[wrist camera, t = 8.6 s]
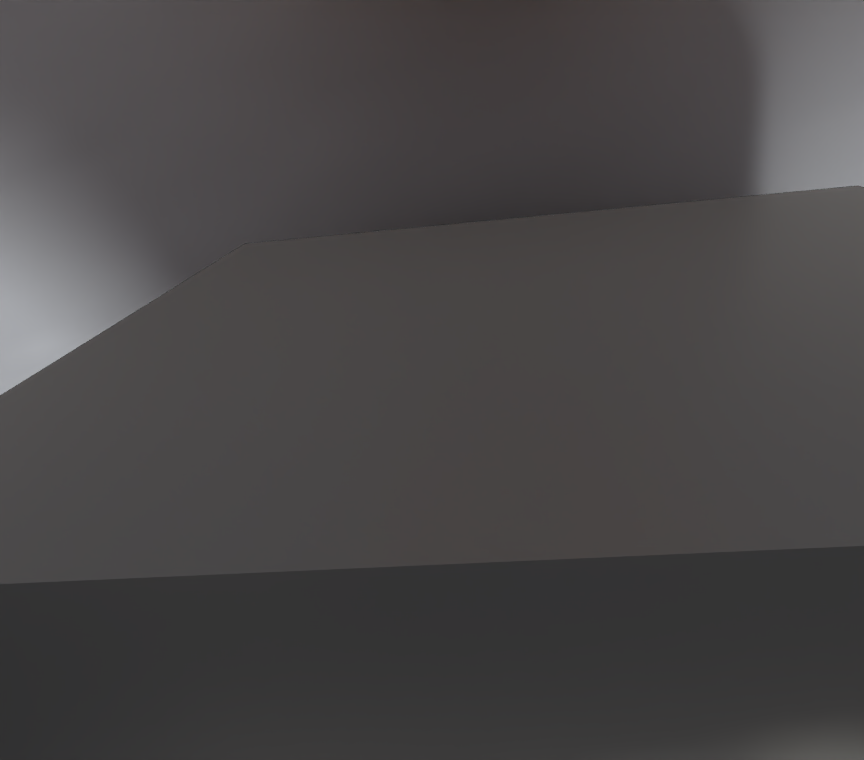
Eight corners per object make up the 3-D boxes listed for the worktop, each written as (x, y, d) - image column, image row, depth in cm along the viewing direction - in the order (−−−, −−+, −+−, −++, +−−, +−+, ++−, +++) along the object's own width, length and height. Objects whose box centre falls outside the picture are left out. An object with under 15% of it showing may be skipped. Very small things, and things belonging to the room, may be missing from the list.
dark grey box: (791, 664, 11) (1207, 1412, 5) (336, 676, 12) (178, 1335, 5) (857, 185, 8) (2194, 487, 2) (245, 243, 9) (-330, 599, 3)
